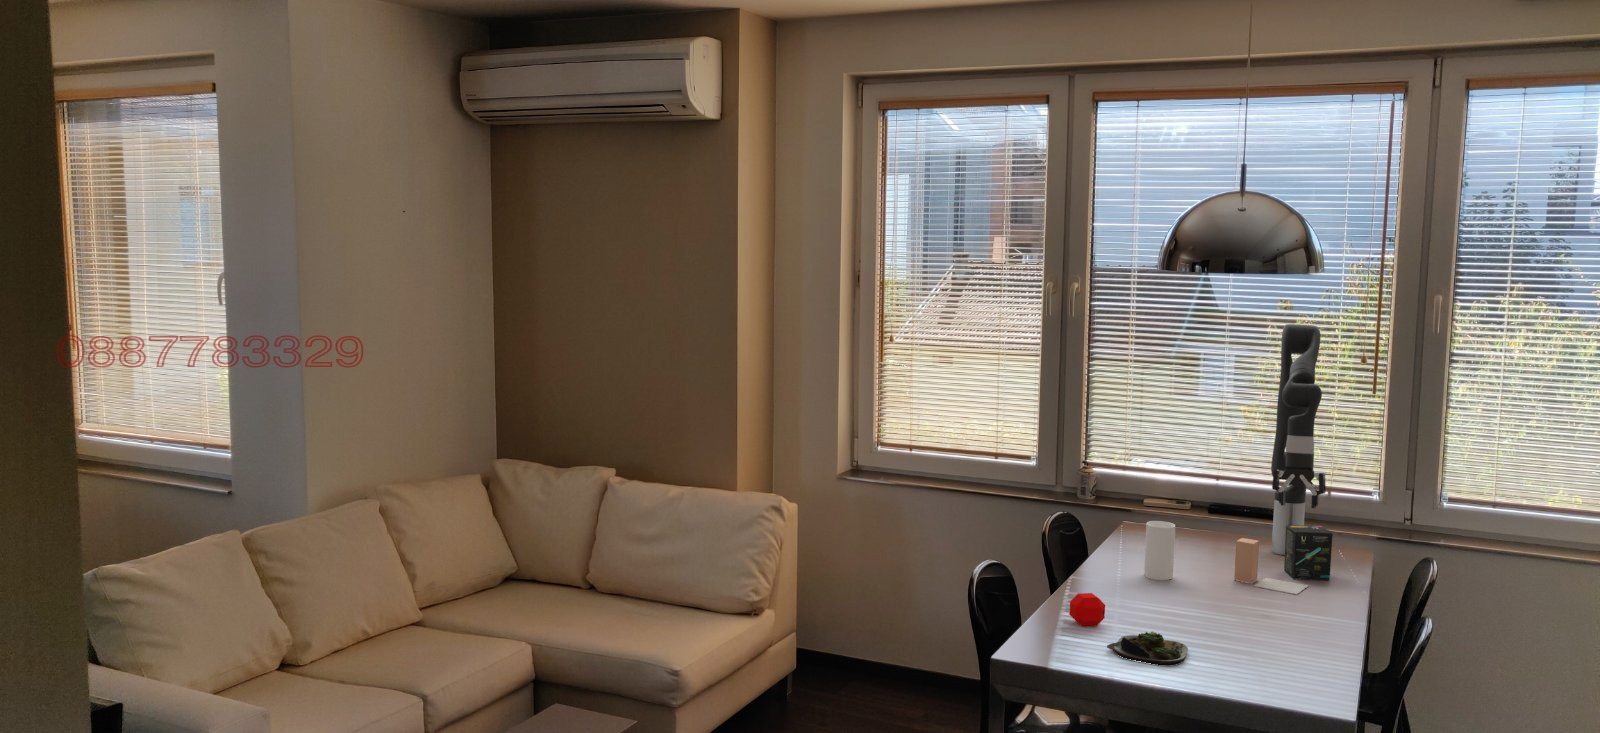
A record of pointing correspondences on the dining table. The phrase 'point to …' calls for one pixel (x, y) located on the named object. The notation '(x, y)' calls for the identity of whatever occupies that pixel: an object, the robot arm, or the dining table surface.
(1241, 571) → the block
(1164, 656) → the salad plate
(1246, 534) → the dining table surface
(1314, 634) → the dining table surface
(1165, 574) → the cup
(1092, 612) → the ball
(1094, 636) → the dining table surface
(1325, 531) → the tampon box
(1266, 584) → the mat
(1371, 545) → the dining table surface
